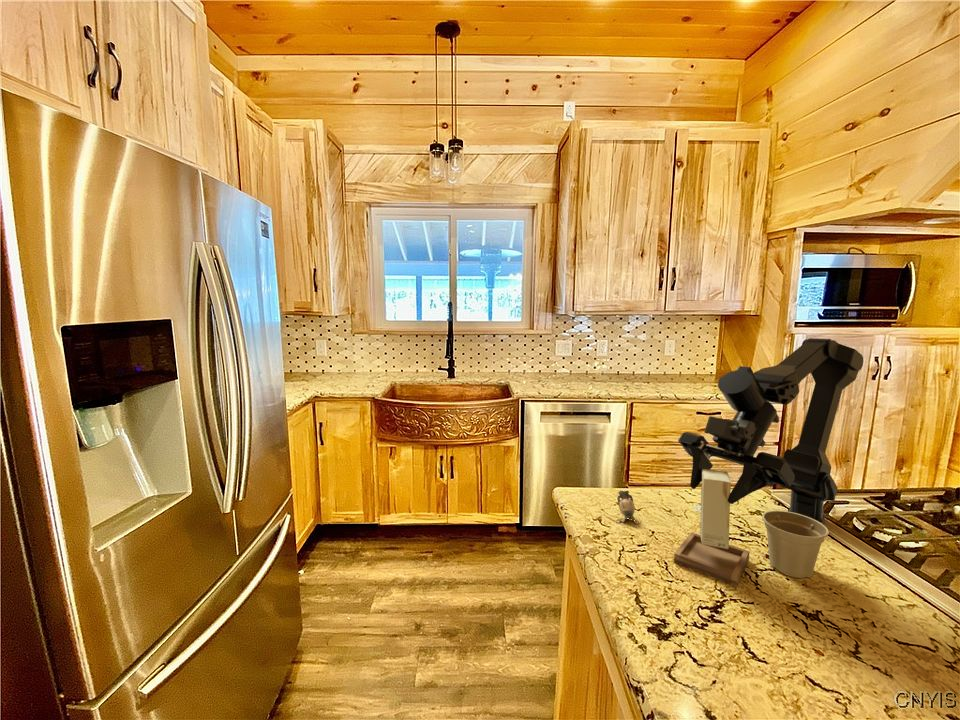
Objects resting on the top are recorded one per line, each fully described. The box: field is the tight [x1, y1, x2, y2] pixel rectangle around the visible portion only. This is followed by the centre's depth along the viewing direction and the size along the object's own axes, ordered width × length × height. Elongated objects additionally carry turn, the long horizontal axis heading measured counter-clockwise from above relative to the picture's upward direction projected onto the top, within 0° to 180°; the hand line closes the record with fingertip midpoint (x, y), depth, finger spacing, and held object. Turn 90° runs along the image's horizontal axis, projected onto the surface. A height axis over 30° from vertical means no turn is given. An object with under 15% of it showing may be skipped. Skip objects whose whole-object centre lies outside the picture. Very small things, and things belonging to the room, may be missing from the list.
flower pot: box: [761, 509, 830, 579], centre depth 73 cm, size 9×9×9 cm
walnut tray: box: [673, 532, 750, 588], centre depth 76 cm, size 10×10×2 cm
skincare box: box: [699, 469, 732, 549], centre depth 75 cm, size 6×4×12 cm
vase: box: [615, 490, 641, 524], centre depth 92 cm, size 5×5×6 cm
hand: (709, 494), depth 74 cm, fingers open, 7 cm apart
